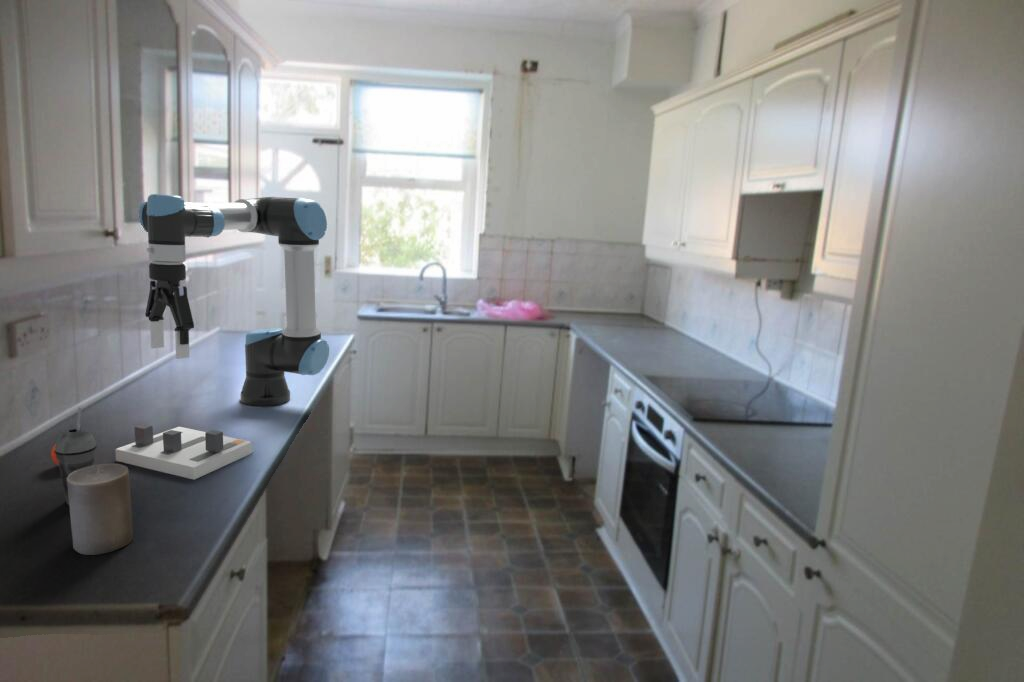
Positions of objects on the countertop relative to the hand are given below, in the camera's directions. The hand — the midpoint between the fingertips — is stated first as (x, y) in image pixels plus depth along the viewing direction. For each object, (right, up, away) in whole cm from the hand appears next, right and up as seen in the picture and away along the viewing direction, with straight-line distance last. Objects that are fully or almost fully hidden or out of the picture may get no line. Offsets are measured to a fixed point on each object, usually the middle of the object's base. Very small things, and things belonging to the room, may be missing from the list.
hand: (169, 352), depth 155 cm
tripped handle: (+9, -24, +4) cm, 26 cm away
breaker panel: (0, -26, +8) cm, 27 cm away
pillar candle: (+5, -35, -33) cm, 48 cm away
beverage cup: (-9, -31, -18) cm, 37 cm away
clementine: (-22, -27, -1) cm, 35 cm away
